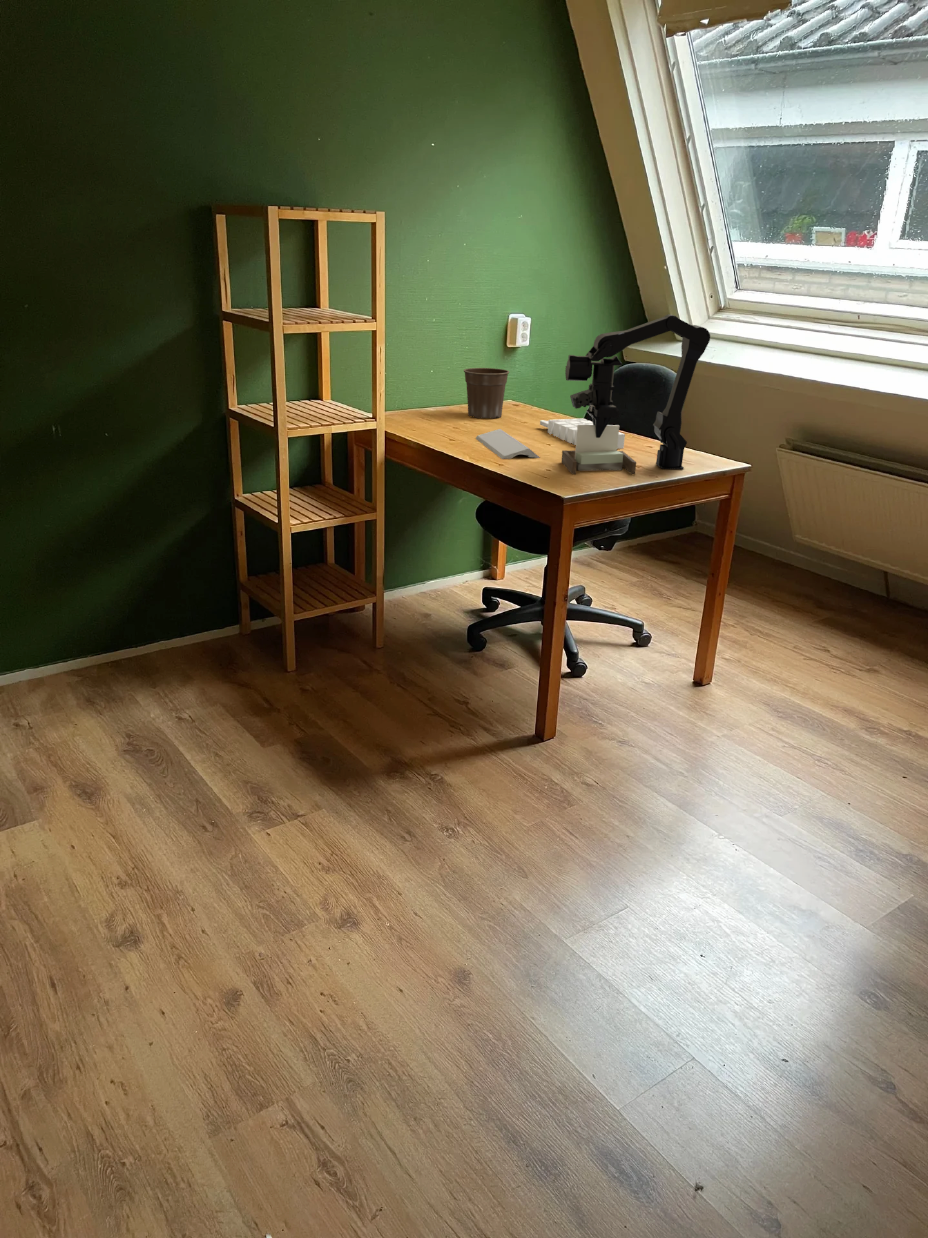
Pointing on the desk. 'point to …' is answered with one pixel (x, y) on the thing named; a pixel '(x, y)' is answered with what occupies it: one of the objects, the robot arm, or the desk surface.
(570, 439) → the organizer
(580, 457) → the offcut upper
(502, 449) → the crown molding
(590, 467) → the offcut lower
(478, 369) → the plant pot
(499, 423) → the desk surface
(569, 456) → the tray
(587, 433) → the sheet
